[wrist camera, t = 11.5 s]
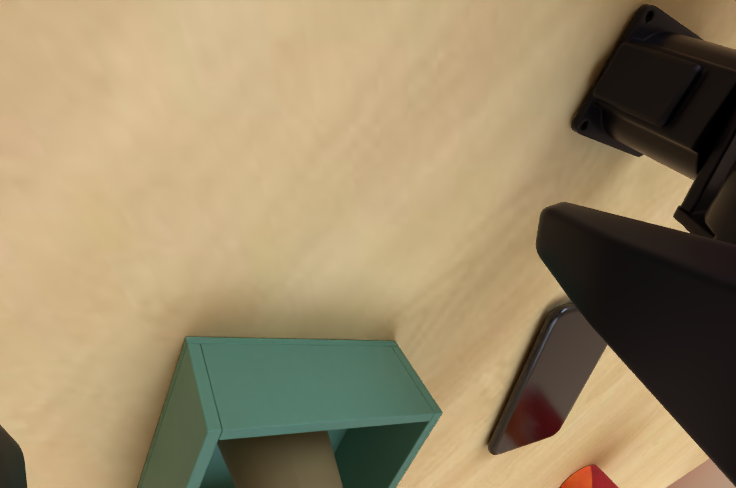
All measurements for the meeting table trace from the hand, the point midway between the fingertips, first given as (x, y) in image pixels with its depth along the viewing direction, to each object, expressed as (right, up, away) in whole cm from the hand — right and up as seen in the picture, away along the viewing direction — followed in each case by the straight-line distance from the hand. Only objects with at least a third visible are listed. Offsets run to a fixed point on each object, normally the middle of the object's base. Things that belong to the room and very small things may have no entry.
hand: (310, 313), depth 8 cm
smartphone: (+15, -9, +33) cm, 38 cm away
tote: (-5, -9, +22) cm, 24 cm away
